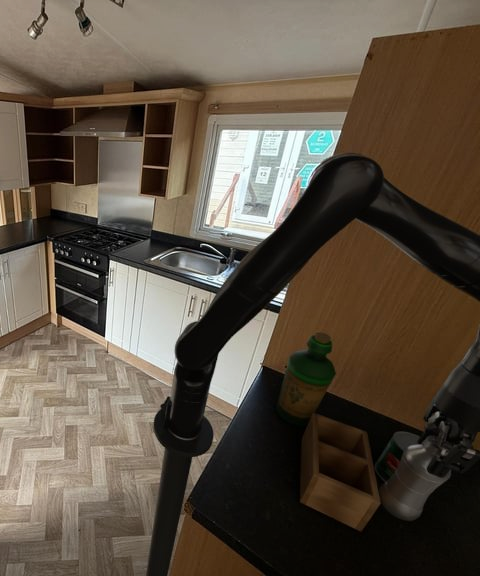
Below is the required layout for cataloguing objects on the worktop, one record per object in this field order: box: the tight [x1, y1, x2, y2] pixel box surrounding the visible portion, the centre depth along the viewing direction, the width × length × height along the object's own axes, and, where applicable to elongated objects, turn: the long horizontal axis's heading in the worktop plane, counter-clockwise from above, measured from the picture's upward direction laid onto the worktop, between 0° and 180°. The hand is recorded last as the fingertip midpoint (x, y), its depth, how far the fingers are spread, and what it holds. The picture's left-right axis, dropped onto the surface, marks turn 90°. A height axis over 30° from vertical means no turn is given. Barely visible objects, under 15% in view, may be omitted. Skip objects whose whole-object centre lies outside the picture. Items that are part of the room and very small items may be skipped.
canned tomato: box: [374, 430, 420, 483], centre depth 72 cm, size 8×8×11 cm
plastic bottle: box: [378, 436, 453, 522], centre depth 61 cm, size 6×7×20 cm
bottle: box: [276, 332, 337, 427], centre depth 85 cm, size 11×11×28 cm
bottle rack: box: [299, 412, 382, 532], centre depth 72 cm, size 11×19×10 cm, turn 148°
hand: (429, 459), depth 59 cm, fingers closed on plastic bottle, 6 cm apart
